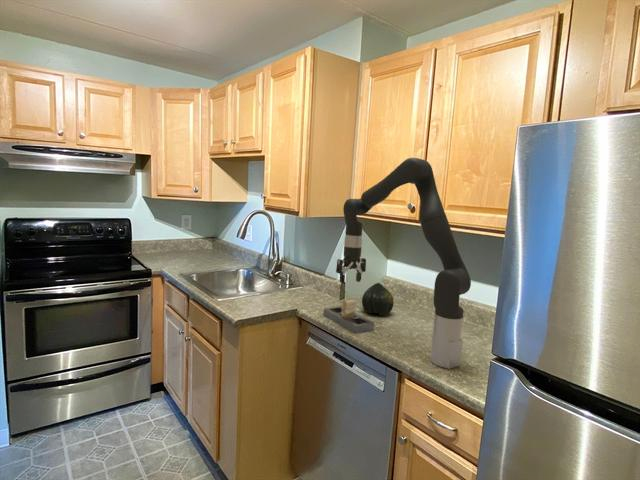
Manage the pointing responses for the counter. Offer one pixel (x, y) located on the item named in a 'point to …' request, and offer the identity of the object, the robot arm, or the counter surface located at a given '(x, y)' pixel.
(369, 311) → the squash
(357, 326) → the gray slotted tray
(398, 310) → the counter surface
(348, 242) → the robot arm
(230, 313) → the counter surface
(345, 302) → the square peg
